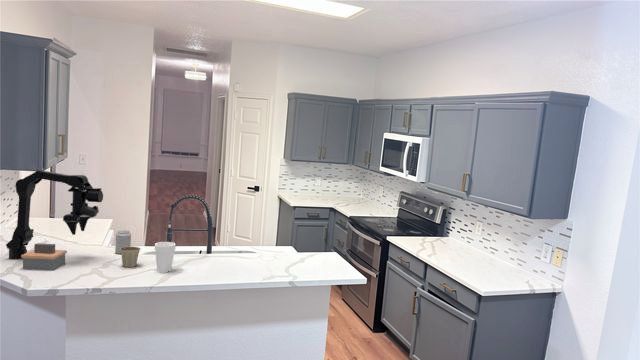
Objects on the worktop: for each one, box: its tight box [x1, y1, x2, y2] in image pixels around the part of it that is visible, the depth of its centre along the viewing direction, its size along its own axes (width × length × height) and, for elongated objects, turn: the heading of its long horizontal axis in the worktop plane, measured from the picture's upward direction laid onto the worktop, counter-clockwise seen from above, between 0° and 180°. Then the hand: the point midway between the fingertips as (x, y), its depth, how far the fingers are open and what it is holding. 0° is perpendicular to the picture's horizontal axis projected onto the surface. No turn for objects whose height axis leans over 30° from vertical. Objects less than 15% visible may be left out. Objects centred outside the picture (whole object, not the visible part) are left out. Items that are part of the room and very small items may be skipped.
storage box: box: [22, 254, 66, 271], centre depth 208 cm, size 13×11×6 cm
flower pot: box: [120, 246, 141, 268], centre depth 220 cm, size 9×9×9 cm
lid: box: [21, 242, 68, 259], centre depth 208 cm, size 14×12×6 cm
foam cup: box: [154, 241, 176, 273], centre depth 216 cm, size 10×9×13 cm
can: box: [114, 229, 132, 255], centre depth 243 cm, size 8×8×12 cm
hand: (78, 232), depth 220 cm, fingers open, 9 cm apart
